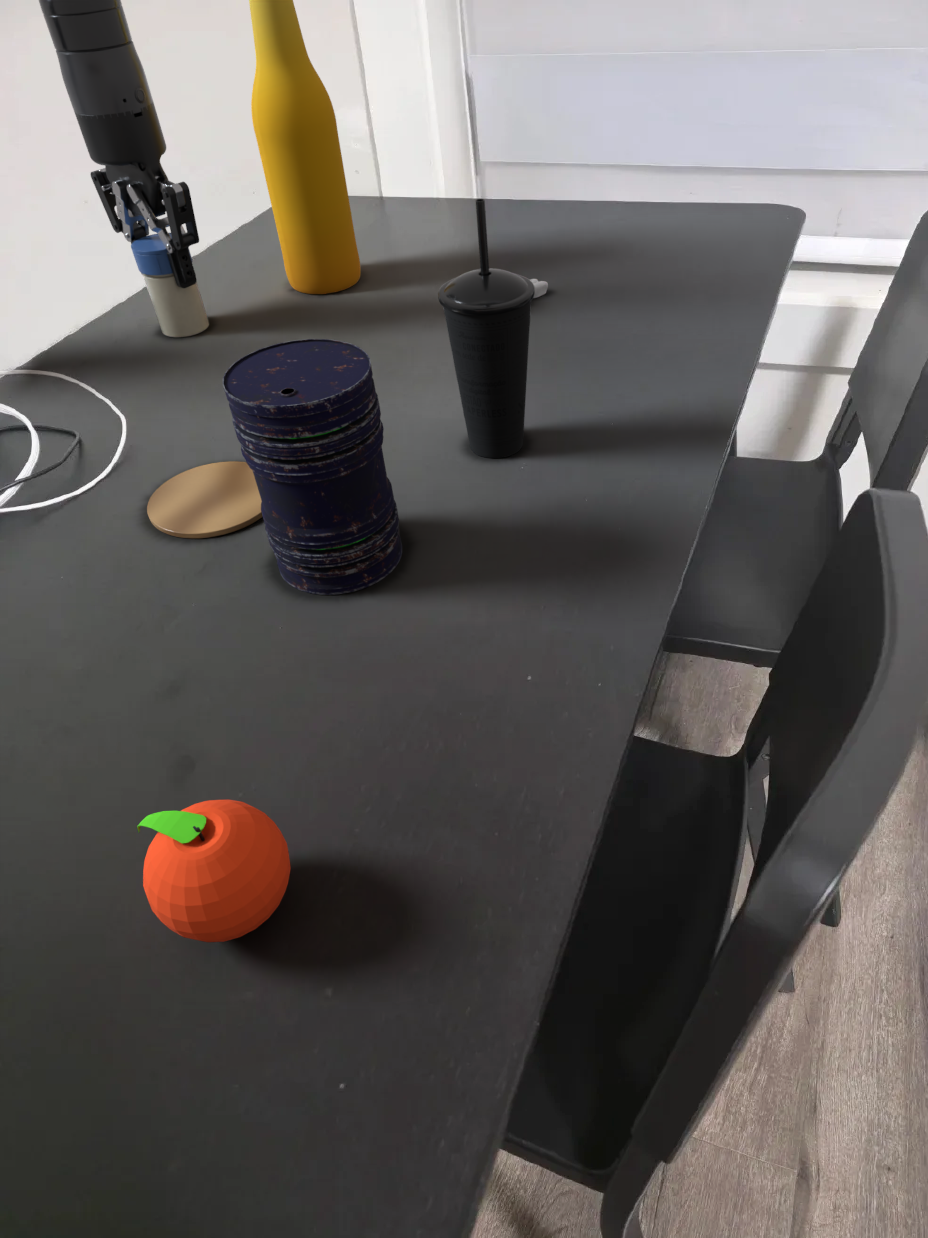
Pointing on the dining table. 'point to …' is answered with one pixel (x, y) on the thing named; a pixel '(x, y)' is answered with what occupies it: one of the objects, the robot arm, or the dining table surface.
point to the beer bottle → (301, 155)
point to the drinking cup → (490, 349)
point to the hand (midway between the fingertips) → (169, 279)
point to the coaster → (206, 501)
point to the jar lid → (152, 255)
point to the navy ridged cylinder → (317, 462)
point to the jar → (176, 306)
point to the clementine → (215, 869)
